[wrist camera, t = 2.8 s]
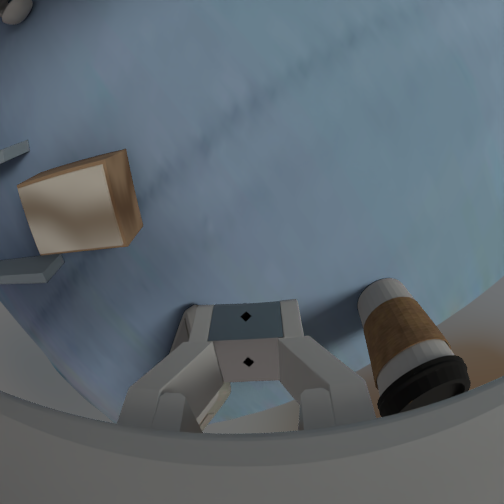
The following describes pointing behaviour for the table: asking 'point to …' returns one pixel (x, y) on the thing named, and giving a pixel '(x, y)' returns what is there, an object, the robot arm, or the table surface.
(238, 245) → the table surface
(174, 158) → the table surface
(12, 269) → the bay
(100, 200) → the tan block
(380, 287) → the coffee cup
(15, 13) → the torpedo
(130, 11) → the table surface
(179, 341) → the digital clock
